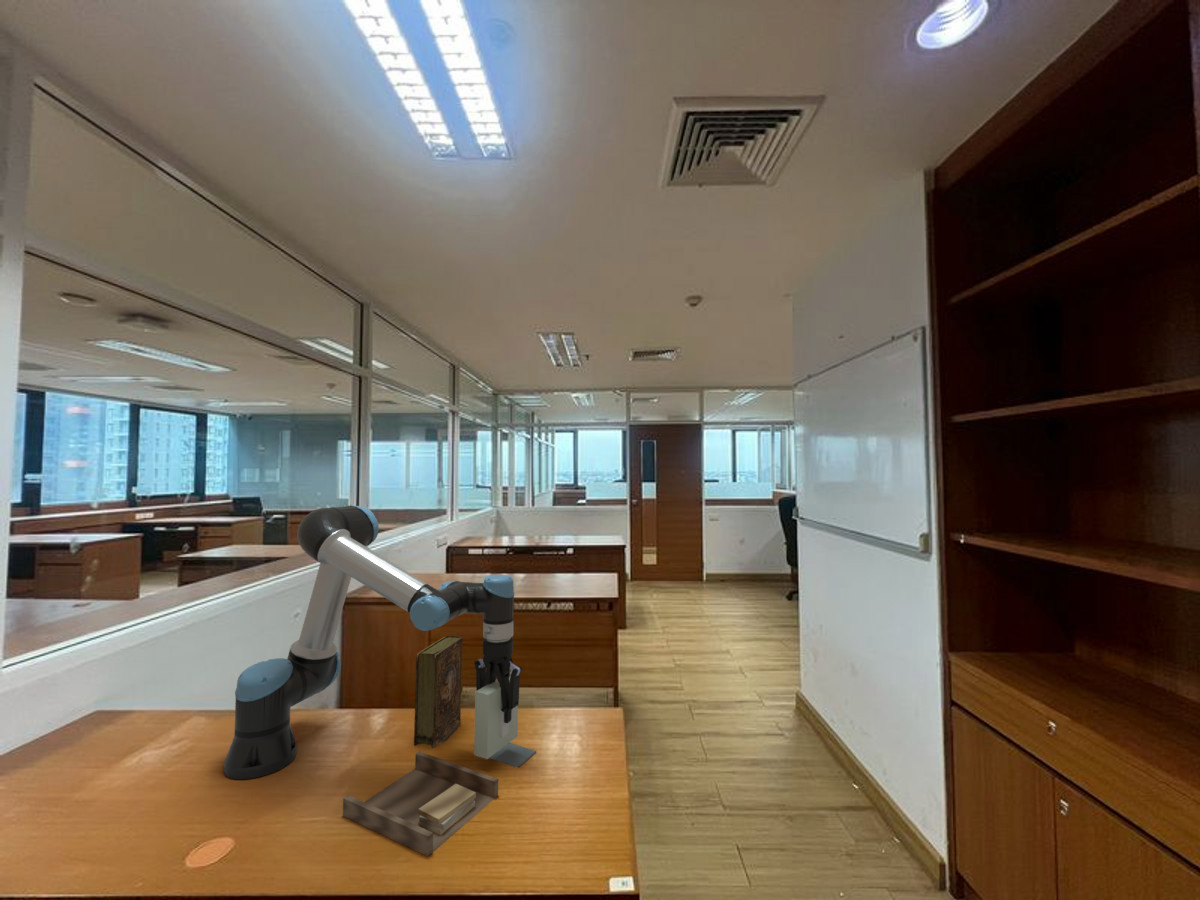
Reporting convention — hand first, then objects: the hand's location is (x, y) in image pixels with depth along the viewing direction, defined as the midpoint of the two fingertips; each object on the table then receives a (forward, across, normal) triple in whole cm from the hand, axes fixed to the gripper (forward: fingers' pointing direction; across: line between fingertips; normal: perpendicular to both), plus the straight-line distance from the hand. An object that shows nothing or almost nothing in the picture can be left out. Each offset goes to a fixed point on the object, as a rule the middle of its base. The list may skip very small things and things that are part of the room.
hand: (496, 732), depth 128 cm
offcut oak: (+4, +5, -22) cm, 23 cm away
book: (+8, -22, +3) cm, 24 cm away
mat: (+8, 0, 0) cm, 8 cm away
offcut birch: (+6, +5, -22) cm, 23 cm away
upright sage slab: (+3, 0, 0) cm, 3 cm away
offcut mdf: (+5, +5, -22) cm, 23 cm away
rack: (+8, -2, -22) cm, 23 cm away
